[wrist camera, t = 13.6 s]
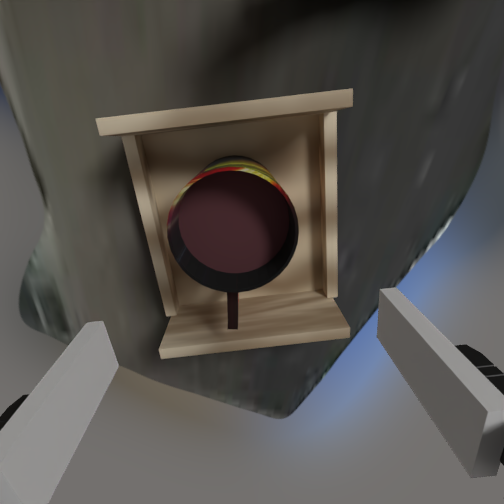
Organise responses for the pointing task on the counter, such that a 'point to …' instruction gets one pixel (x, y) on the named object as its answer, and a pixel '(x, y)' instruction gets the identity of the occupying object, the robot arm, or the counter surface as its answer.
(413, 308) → the robot arm
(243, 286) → the mug
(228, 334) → the open wooden box
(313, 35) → the counter surface
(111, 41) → the counter surface
